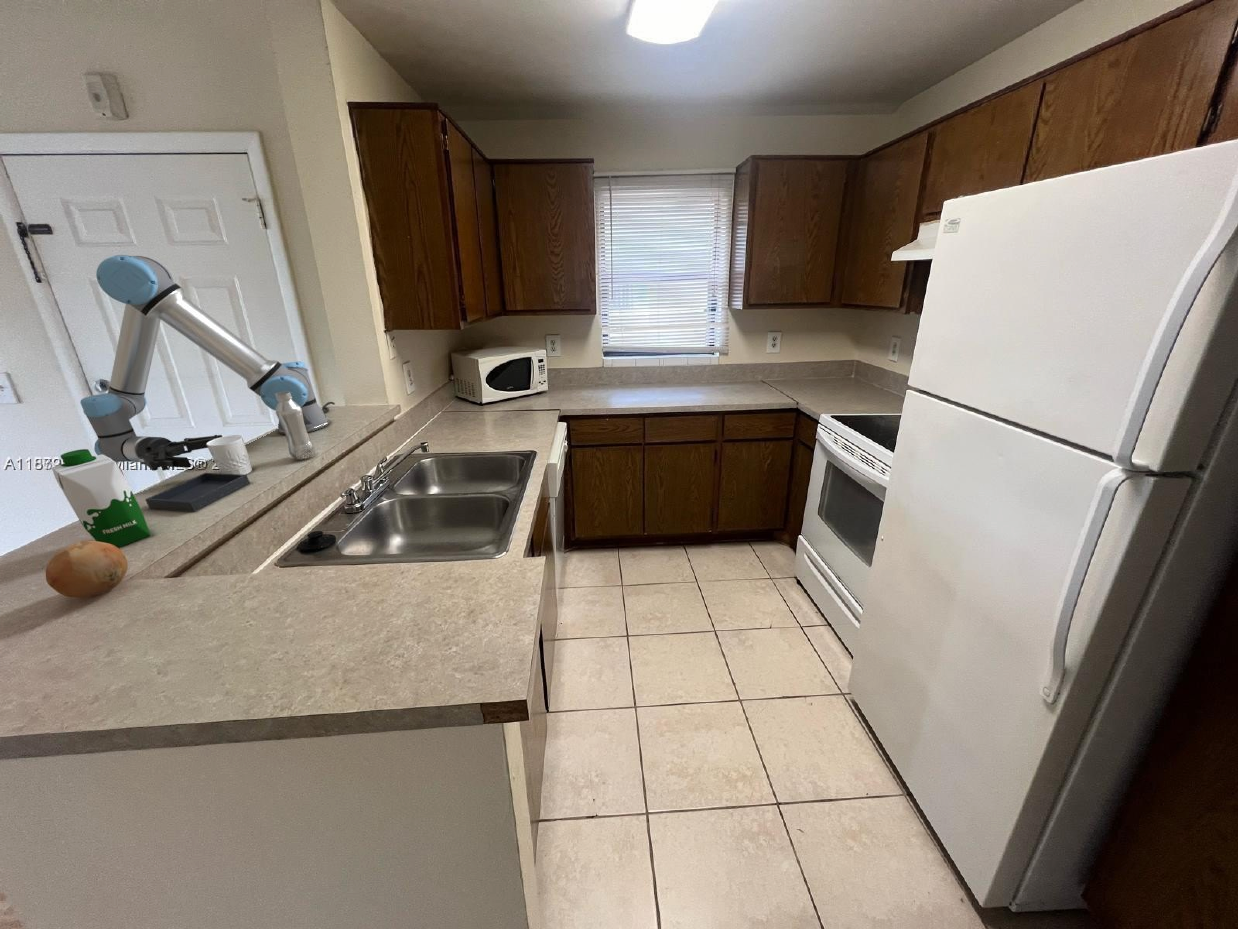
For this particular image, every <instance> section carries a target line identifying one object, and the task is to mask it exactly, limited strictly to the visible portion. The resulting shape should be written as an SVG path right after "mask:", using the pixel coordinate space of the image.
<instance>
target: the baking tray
mask: <svg viewBox="0 0 1238 929" xmlns="http://www.w3.org/2000/svg"><path fill="white" fill-rule="evenodd" d="M250 484H251V482H250V480H249V478H248V474H245V475H241V474H222V473H221V472H220V473H219V472H218V473H217V472H204V473H202V474H199V475H197V476H194V477H193V478H190V479H188V480H185V481H183V482H180V483H178V484H176V485H175V486H172V487H170V488H168V489H165V490H163V491H161V492H158V493H156V494H154V495H152V496H149V497H148V498H145V499H144V500H145V502H146V503H147V506H148V508H149V509H150V510H151V509H152V510H162V511H163V510H164V511H180V512H192V513H194V512H197V511H198V510H201V509H202V508H205V507H206V506H208V505H210V504H212V503H215V502H217V501H219V500H221V499H223V498H224V497H226V496H229V495H230V494H232V493H234V492H236V491H238V490H240V489H242V488H244V487H246V486H248V485H250Z"/></svg>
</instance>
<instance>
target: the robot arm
mask: <svg viewBox="0 0 1238 929" xmlns="http://www.w3.org/2000/svg"><path fill="white" fill-rule="evenodd" d="M95 272H96V275H95V276H96V279H97V280H96V281H97V283H98V286H99V287H100V288H101V290H102V291H103V293H105V294H106V295H107V296H109V297H110V298H112V299H113V300H115V301H117V302H119V303H122V304H125V306H124V310H123V316H122V320H121V326H120V331H119V335H118V341H117V346H116V351H115V356H114V361H113V366H112V371H111V377H110V381H109V388H108V391H107V392H108V393H99V394H94V395H93V394H92V395H89V396H86V397H83V398H81V399H80V401H79V402H80V403H79V404H80V406H81V408H82V410H83V411H82V412H83V414H84V415H85V416H86V418H87V420H88V422H89V424H90V426H91V427H92V429H93V431H94V433H95V434H96V437H97V439H96V441H95V442H94V447H93V450H94V453H95V454H96V456H98V455H102V454H103V455H105V456H107V457H109V458H111V459H112V460H113V461H114V462H115V463H116V462H117V463H126V462H127V463H140V464H141V465H146V466H147V467H148V468H149V469H150V470H151V471H154V472H155V471H157V470H159V468H161V470H162V471H167V470H169V468H182V469H183V468H185V469H190V468H191V467H192V464H191V462H190V460H189V458H188V457H187V456H182V455H185V454H189V453H192V452H193V451H198V450H203V449H208V447H207V445H206V443H207V442H209V441H211V440H213V439H216V438H220V437H223V435H222V434H214V435H209V436H208V435H207V436H199V437H185V438H183V440H181V441H172V440H170V439H168V438H166V437H161V436H143V435H140V436H139V435H137V434H136V431H135V429H134V427H133V425H132V423H131V421H130V420H132V418H134V417H135V416H137V415H139V414H140V413H142V412H143V411H144V409H145V408H146V406H147V399H146V397H145V396H146V395H145V393H146V389H147V385H148V379H149V375H150V371H151V366H152V361H153V357H154V352H155V348H156V344H157V338H158V334H159V330H160V325H161V321H163V322H164V323H165V324H167V325H168V326H170V327H171V328H172V329H173V330H175V331H176V332H178V333H179V334H181V335H182V336H183V337H185V338H186V339H188V340H189V341H191V342H192V343H193V344H194V345H196V346H198V347H199V348H200V349H202V350H203V351H205V352H206V353H208V355H210V356H212V357H213V358H214V359H216V360H217V361H218V362H220V363H222V364H223V365H224V366H226V367H227V368H229V369H230V370H231V371H233V372H234V373H235V374H237V375H238V376H239V377H240V378H243V379H244V380H245V382H246V385H247V388H248V389H249V390H250V391H252V392H253V393H255V394H256V395H257V396H259V397H260V399H261V401H262V402H263V404H264V405H265V406H266V407H268V408H269V409H271V410H273V411H275V412H276V407H277V405H278V403H279V402H278V401H277V398H276V395H275V394H276V393H279V392H284V391H289V392H290V393H291V396H292V400H293V401H294V402H296V403H297V404H298V405H299V406H300V407H301V409H302V414H303V420H304V424H305V428H306V431H307V434H308V433H310V432H315V431H318V430H322V429H324V428H326V427H327V426H329V425H330V421H329V417H328V416H327V415H326V413H328V412H329V411H330V409H329V408H328V406H329V405H336V403H335V402H334V401H328V402H326V403H325V404H324V405H323V406H322V408H321V406H320V405H319V404H318V400H317V398H316V395H315V391H314V388H313V385H312V383H311V379H310V376H309V373H308V372H309V371H308V368H307V366H306V363H305V362H303V361H290V362H280V361H279V360H274V359H273V360H272V359H271V360H270V359H268V358H266V357H265V356H263V355H262V354H261V353H259V352H258V351H257V350H256V349H254V348H253V347H251V346H250V345H249V344H247V343H246V342H245V341H243V340H242V338H239V337H238V336H237V335H236V334H234V333H233V332H232V331H230V330H229V329H228V328H226V327H225V326H224V325H223V324H221V323H220V322H218V321H217V320H216V319H215V318H213V317H212V316H211V315H209V314H208V313H207V312H205V311H204V310H202V309H201V308H200V307H198V306H197V305H196V304H195V303H193V302H192V301H191V300H189V299H188V298H187V297H186V296H185V292H184V288H183V287H181V285H179V284H177V283H176V282H175V281H174V278H173V276H172V274H171V272H170V271H169V270H168V268H167V267H165V266H164V265H163V264H161V262H159V261H157V260H156V259H153V258H150V257H148V256H142V255H127V254H117V255H114V256H110V257H107V258H105V259H104V260H102V261H101V262H100V263H99V264H98V266H97V268H96V271H95ZM277 428H278V431H279V433H280V434H282V435H286V434H285V431H284V429H283V427H282V425H281V423H280V421H279V420H278V424H277ZM185 447H186V448H185Z"/></svg>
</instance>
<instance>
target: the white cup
mask: <svg viewBox="0 0 1238 929" xmlns="http://www.w3.org/2000/svg"><path fill="white" fill-rule="evenodd" d="M206 445H207V447H208V448H207V449H208V451H209V453H210V455H211V457H212V459H213V462H214V463H215V465H216V466H217V468H218V469H219V471H220V473H222V474H241V475H248V474H250V473H251V472H252V471H253V468H252V467H253V466H252V464H251V462H250V457H249V452H248V449H247V447H246V444H245V440H244V437H243V436H242V435H239V434H237V435H236V434H233V435H232V434H231V435H226V436H225V435H224V436H222V437H220V438H216V439H213V440H211V441H209V442H207V443H206Z"/></svg>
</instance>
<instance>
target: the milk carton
mask: <svg viewBox="0 0 1238 929" xmlns="http://www.w3.org/2000/svg"><path fill="white" fill-rule="evenodd" d="M60 458H61V460H62V462H63V463H61V464H59V465H55V466H52V467H51V470H52V472H53V476H54V479H55V481H56V483H57V484H58V486H59V488H60V489H61V491H62V492H63V495H64V496H65V498H66V500H67V502H68V503H69V505H70V507H71V508H72V510H73V511H74V513H75V515H76V517H77V518H78V520H79V522H80V524H81V525H82V527H83V528H84V530H85V531H87V533H88V534H89V535H90V536H91V537H92V538H93V539H94V541H98V542H104V543H109V544H112V545H114V546H116V547H117V548H119V549H120V548H122V547H124V546H127V545H130V544H132V543H135V542H137V541H138V542H139V541H140V540H143V539H146V538H148V537H151V536H152V534H151V533H150V529H149V527H148V524H147V522H146V519H145V515H144V513H143V511H142V508H141V507H140V504H139V502H138V501H137V499H136V497H135V495H134V493H133V491H132V489H131V487H130V485H129V483H128V482H127V479H126V478H125V476H124V475H123V471H122V470H121V468H120V467H119V466H118V464H117V463H116V461H113V460H112V459H111V458H109V457H107V456H105V455H103V454H102V455H92V453H91V451H90V449H89V448H81V449H75V450H71V451H68V452H67V451H66V452H65V453H63V454H60Z"/></svg>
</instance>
